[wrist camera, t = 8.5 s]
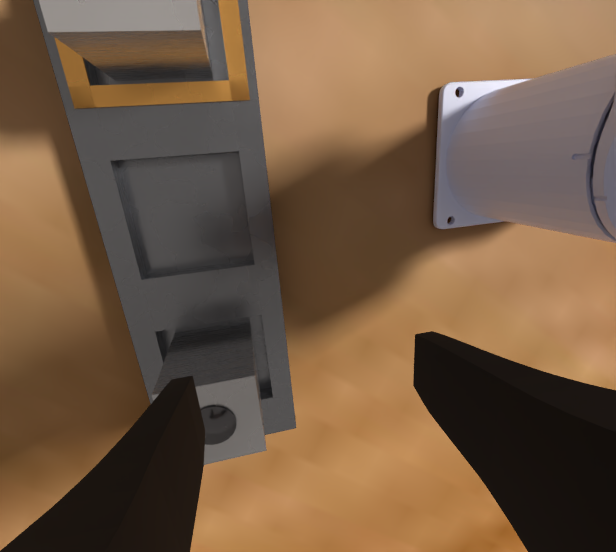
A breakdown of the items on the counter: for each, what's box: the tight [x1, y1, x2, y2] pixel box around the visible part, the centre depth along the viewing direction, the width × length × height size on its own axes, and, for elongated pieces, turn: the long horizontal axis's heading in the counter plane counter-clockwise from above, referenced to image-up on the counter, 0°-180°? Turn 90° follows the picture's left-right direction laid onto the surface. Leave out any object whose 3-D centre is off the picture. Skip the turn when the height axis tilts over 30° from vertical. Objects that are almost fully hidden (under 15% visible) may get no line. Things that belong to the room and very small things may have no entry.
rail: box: [33, 0, 296, 435], centre depth 17 cm, size 8×28×2 cm, turn 5°
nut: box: [152, 320, 266, 465], centre depth 17 cm, size 4×4×6 cm
